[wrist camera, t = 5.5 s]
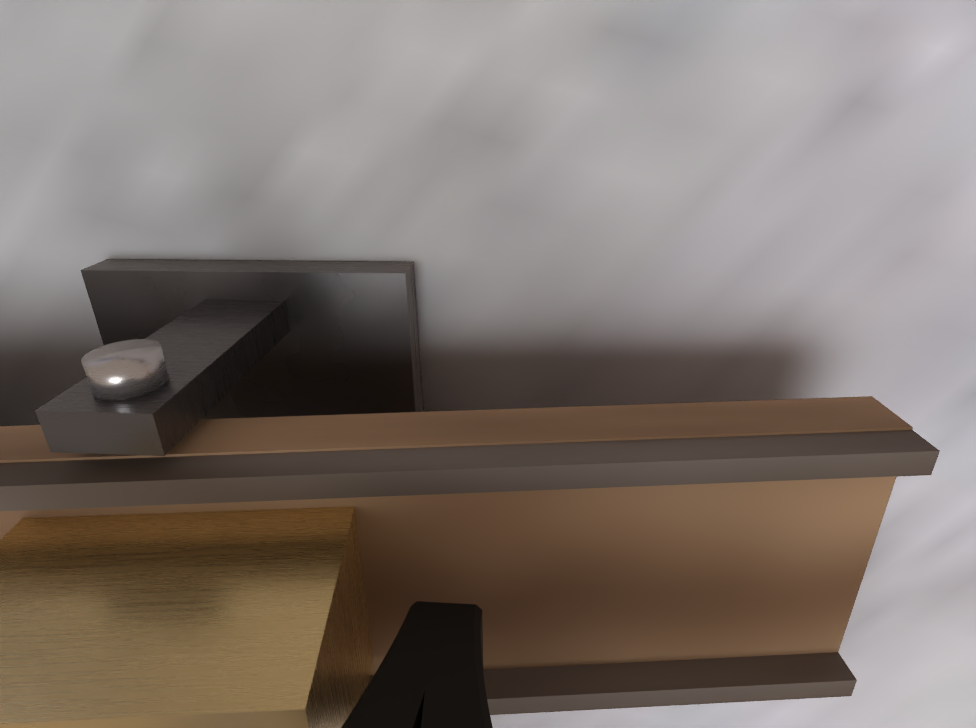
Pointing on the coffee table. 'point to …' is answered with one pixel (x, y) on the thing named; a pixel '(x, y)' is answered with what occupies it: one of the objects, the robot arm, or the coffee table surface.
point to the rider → (184, 620)
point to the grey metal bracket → (236, 348)
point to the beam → (559, 530)
